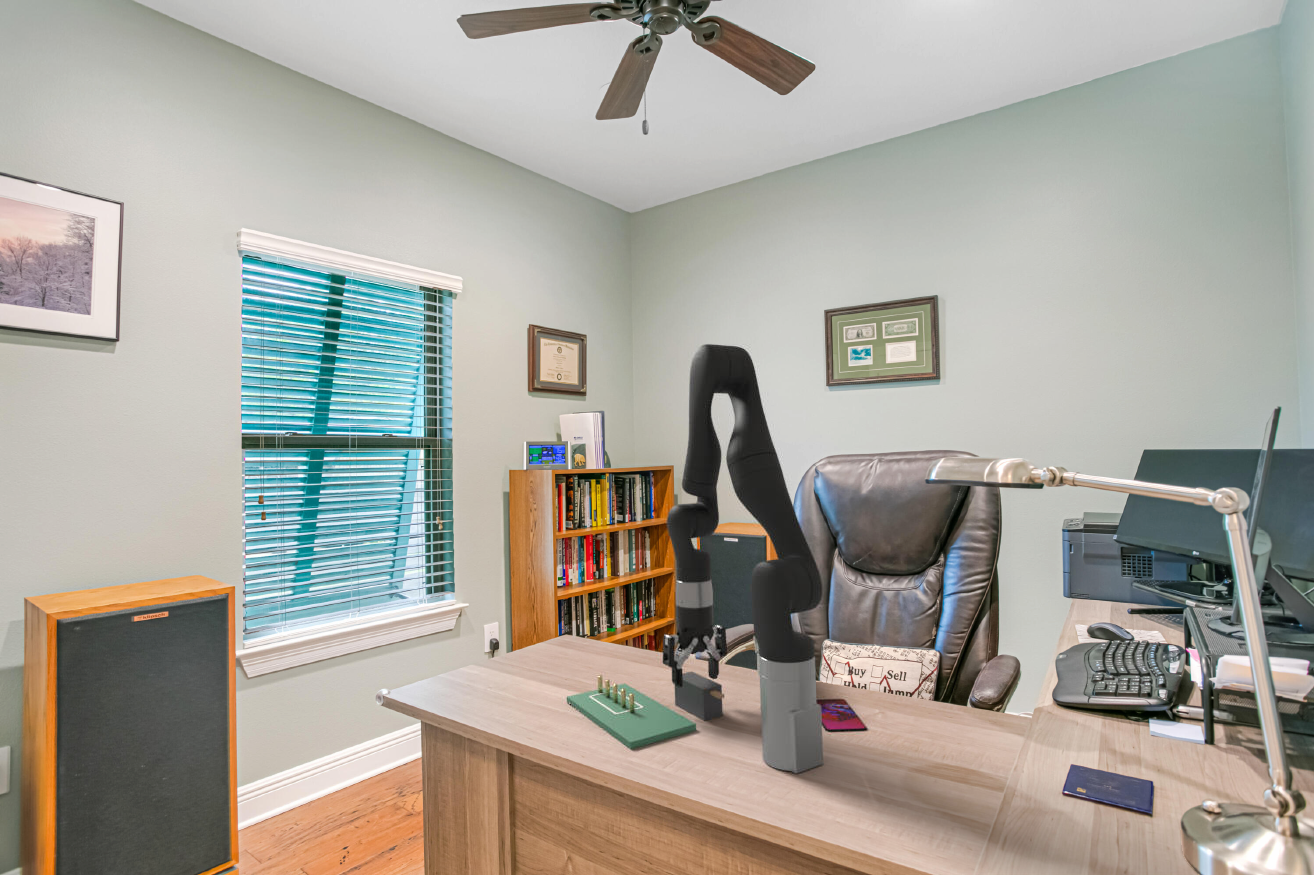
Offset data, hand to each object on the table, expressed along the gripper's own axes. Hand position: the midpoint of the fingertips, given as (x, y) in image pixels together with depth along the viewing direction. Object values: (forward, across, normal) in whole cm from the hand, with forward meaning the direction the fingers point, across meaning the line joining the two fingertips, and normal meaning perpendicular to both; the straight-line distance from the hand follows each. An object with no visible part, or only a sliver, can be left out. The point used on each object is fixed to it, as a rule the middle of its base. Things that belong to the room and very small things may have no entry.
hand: (696, 681), depth 134 cm
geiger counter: (+6, +22, +4) cm, 23 cm away
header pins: (+5, -13, +10) cm, 17 cm away
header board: (+6, -13, +5) cm, 15 cm away
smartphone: (+6, +20, -19) cm, 28 cm away
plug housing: (+5, 0, -2) cm, 6 cm away
